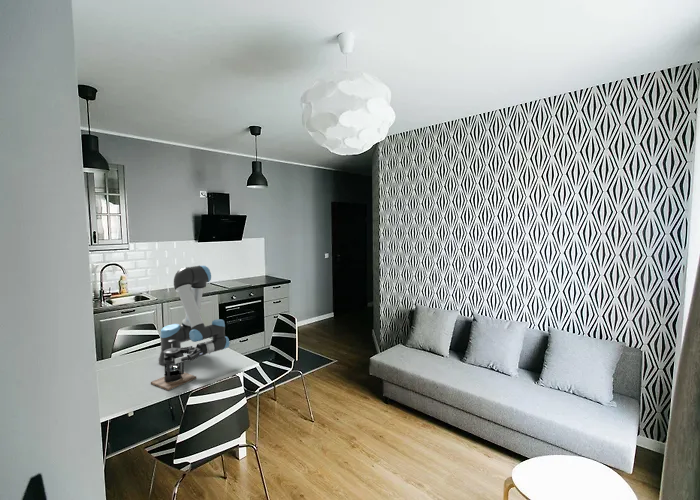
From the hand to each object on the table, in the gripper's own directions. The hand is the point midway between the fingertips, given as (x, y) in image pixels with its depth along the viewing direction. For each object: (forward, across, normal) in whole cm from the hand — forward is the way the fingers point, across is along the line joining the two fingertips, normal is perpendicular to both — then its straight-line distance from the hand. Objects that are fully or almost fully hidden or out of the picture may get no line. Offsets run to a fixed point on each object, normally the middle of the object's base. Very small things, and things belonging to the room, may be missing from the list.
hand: (169, 358), depth 208 cm
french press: (-2, 0, -13) cm, 13 cm away
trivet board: (-2, 0, -14) cm, 14 cm away
